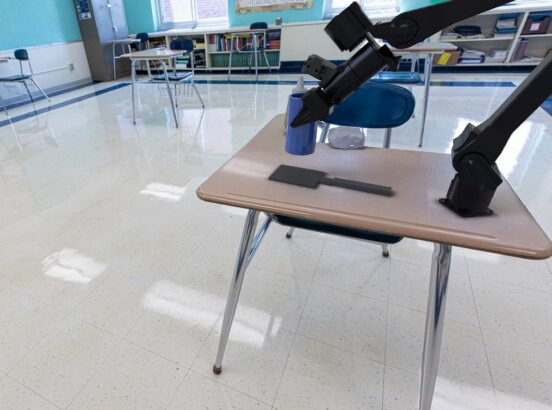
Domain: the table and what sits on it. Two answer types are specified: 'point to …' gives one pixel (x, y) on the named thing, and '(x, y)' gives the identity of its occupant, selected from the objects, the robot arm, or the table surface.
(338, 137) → the stone block
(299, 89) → the squeeze bottle
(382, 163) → the table surface
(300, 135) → the cup
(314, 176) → the spatula
